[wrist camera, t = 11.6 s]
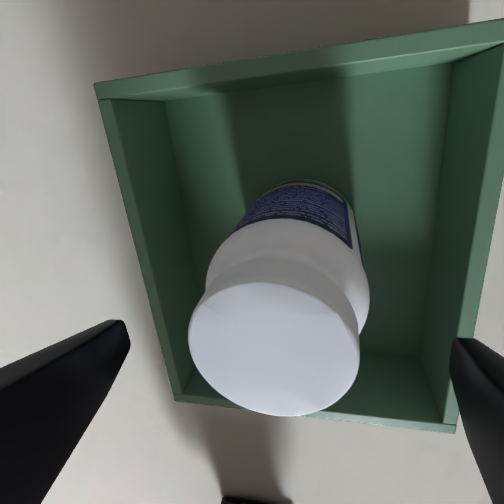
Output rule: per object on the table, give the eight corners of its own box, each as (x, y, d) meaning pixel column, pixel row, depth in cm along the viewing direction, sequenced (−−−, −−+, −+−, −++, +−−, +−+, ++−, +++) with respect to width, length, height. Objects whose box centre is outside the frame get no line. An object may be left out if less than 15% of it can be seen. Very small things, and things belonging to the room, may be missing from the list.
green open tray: (427, 360, 19) (455, 434, 15) (205, 344, 23) (174, 401, 18) (467, 44, 13) (535, 12, 9) (156, 89, 17) (92, 82, 12)
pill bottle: (229, 218, 18) (129, 322, 9) (314, 152, 16) (289, 208, 7) (290, 294, 19) (253, 454, 10) (379, 243, 17) (430, 393, 8)
